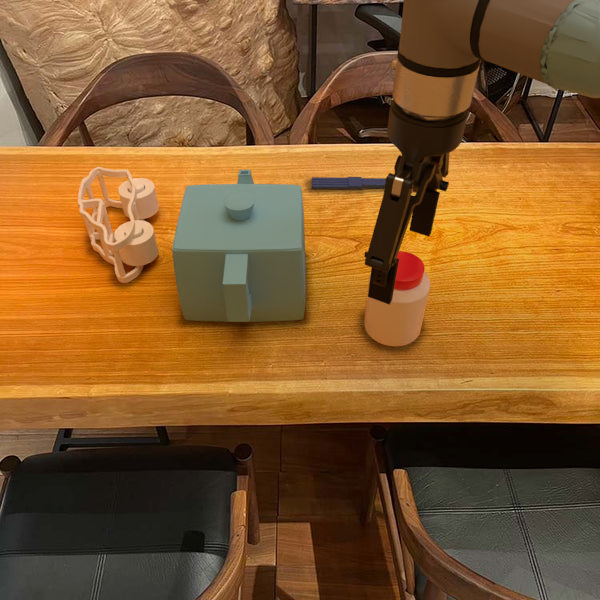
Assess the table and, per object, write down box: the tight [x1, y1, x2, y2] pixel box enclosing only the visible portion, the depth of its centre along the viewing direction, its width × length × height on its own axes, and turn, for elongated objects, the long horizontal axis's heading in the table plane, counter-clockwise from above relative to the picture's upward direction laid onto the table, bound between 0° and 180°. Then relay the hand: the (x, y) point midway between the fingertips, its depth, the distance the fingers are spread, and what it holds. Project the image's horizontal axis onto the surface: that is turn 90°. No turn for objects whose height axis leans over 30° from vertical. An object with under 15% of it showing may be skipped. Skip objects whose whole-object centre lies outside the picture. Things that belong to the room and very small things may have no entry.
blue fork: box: [310, 176, 386, 191], centre depth 102 cm, size 21×3×1 cm, turn 89°
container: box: [171, 169, 307, 323], centre depth 80 cm, size 17×25×15 cm
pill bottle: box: [363, 250, 431, 347], centre depth 76 cm, size 8×8×11 cm
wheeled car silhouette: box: [77, 166, 160, 284], centre depth 90 cm, size 20×11×7 cm, turn 9°
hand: (401, 263), depth 72 cm, fingers open, 13 cm apart
